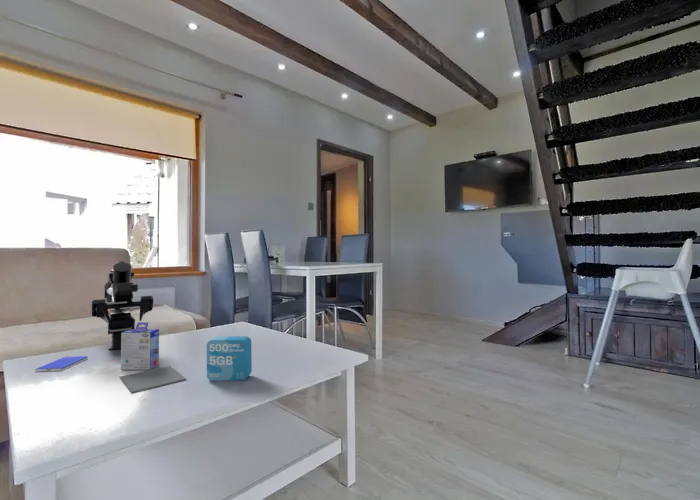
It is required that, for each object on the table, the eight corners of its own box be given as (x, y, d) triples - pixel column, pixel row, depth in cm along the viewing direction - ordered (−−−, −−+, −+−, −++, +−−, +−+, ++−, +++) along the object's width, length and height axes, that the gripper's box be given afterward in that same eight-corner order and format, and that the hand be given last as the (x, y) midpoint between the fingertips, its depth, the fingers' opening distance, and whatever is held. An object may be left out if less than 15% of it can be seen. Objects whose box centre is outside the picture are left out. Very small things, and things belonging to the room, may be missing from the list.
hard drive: (63, 356, 124) (34, 368, 112) (87, 355, 125) (61, 367, 113) (63, 361, 124) (34, 373, 112) (87, 360, 125) (61, 372, 113)
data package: (206, 381, 102) (206, 340, 102) (212, 375, 107) (212, 336, 107) (247, 380, 102) (247, 339, 102) (251, 375, 107) (251, 336, 107)
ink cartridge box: (160, 364, 118) (160, 321, 118) (150, 370, 112) (150, 325, 112) (131, 364, 118) (130, 321, 118) (120, 370, 112) (119, 325, 112)
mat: (119, 377, 106) (119, 376, 106) (169, 366, 115) (169, 365, 115) (131, 393, 94) (131, 391, 94) (186, 379, 103) (186, 378, 103)
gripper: (91, 277, 123) (92, 307, 113) (151, 274, 135) (157, 302, 124) (91, 301, 128) (92, 332, 118) (149, 296, 140) (154, 324, 130)
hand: (125, 321), depth 123 cm, fingers open, 9 cm apart
